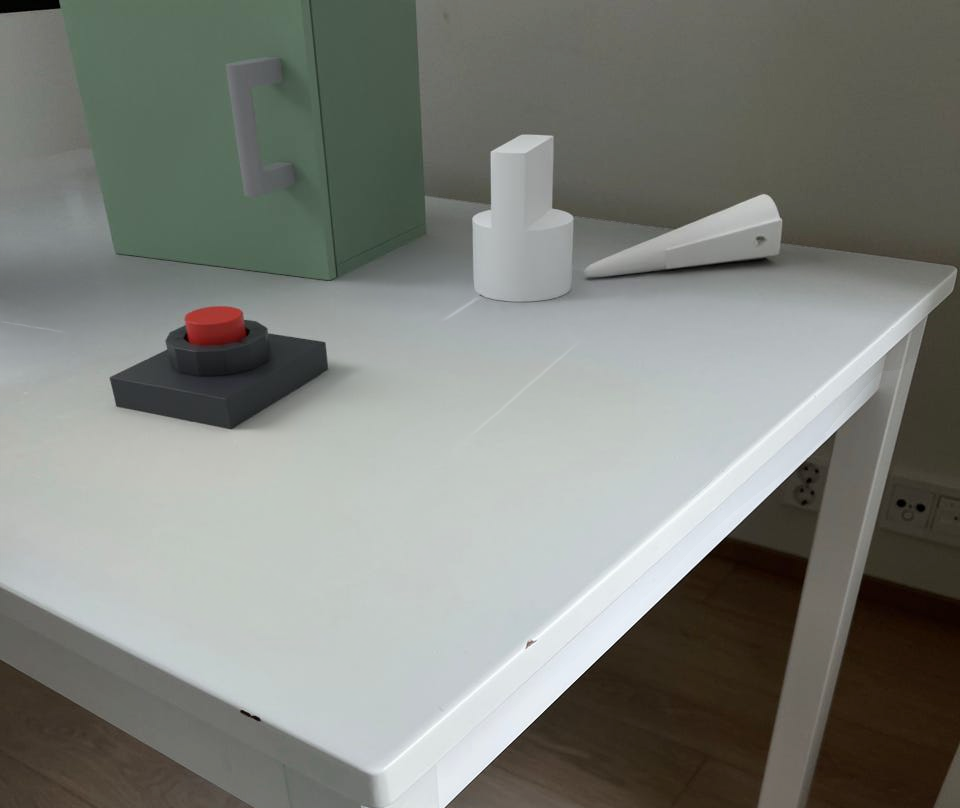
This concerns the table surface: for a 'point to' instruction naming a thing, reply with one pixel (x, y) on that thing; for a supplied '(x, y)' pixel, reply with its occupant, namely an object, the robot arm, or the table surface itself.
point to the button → (215, 325)
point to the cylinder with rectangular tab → (522, 227)
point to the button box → (220, 376)
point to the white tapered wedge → (703, 242)
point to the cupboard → (370, 125)
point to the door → (206, 130)
